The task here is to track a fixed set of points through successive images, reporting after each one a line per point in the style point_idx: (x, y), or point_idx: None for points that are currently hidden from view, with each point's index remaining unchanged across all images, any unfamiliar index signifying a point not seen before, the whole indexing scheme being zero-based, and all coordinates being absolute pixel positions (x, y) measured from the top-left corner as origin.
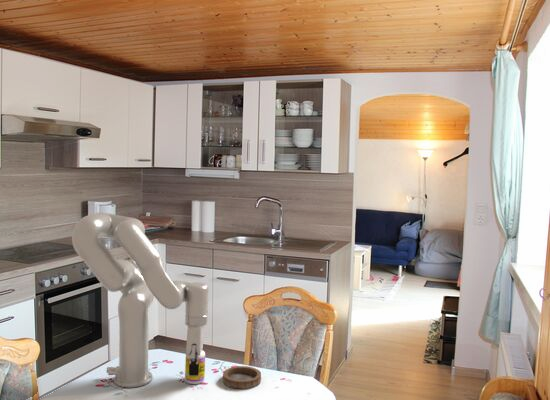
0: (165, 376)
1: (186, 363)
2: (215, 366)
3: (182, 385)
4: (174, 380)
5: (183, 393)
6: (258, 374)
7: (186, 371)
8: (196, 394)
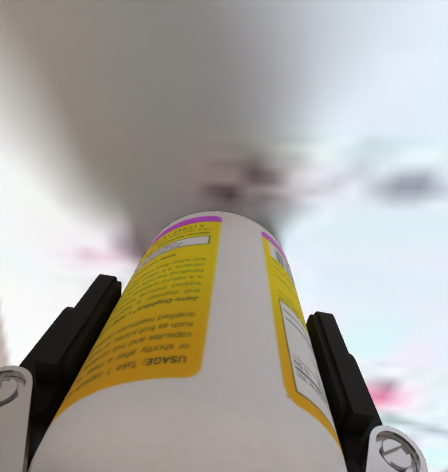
0: (370, 22)
1: (142, 313)
2: (425, 402)
3: (147, 183)
4: (254, 118)
5: (7, 185)
6: None
7: (160, 259)
8: (5, 267)
